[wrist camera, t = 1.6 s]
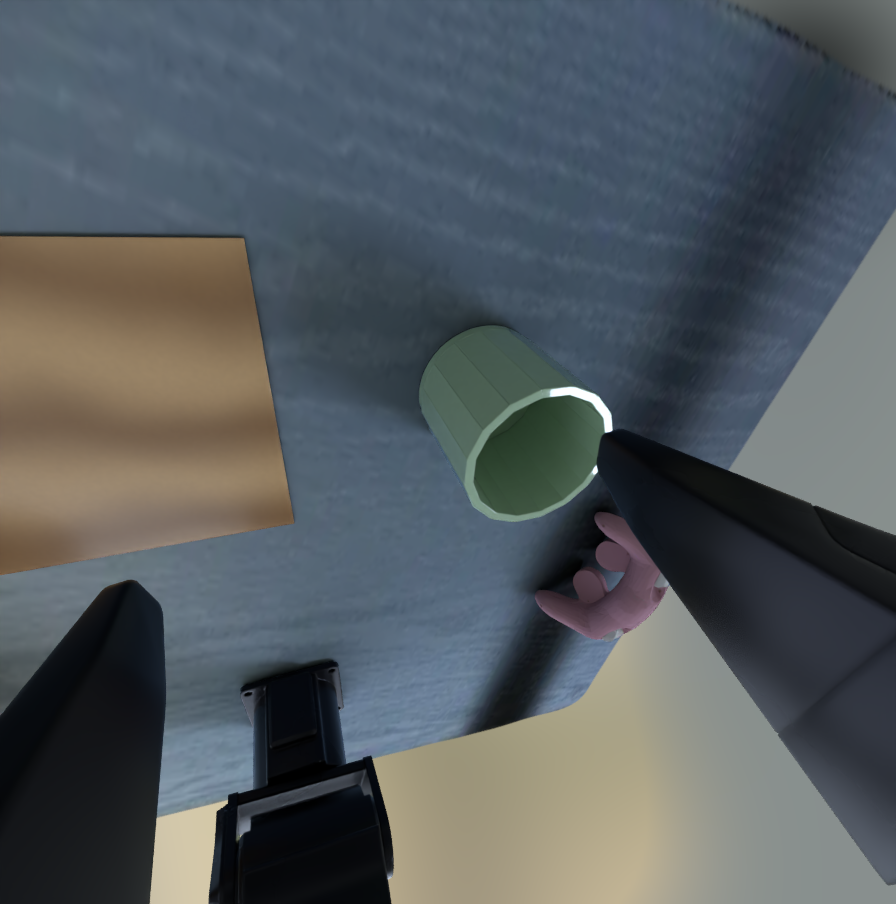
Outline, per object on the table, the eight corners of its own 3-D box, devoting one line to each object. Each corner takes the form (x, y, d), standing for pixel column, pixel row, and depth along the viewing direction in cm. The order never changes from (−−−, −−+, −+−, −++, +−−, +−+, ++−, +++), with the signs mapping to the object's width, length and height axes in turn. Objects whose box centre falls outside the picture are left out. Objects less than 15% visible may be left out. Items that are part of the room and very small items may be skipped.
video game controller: (550, 583, 39) (617, 647, 36) (526, 601, 36) (598, 673, 32) (617, 497, 35) (699, 560, 32) (597, 507, 32) (688, 579, 28)
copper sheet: (294, 522, 24) (294, 523, 24) (-38, 580, 20) (-39, 582, 20) (243, 237, 16) (243, 238, 16) (-333, 233, 12) (-337, 233, 12)
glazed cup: (526, 433, 26) (590, 507, 21) (416, 448, 24) (458, 534, 19) (548, 321, 22) (632, 379, 17) (420, 328, 20) (474, 396, 15)
